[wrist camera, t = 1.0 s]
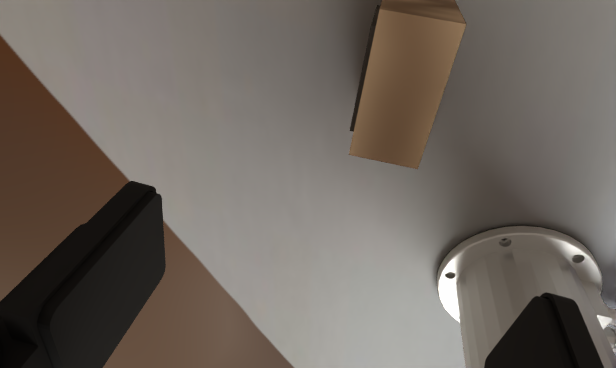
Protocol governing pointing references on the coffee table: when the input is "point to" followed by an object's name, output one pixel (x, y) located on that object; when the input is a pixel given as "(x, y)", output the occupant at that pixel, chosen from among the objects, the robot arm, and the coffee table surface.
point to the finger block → (404, 78)
